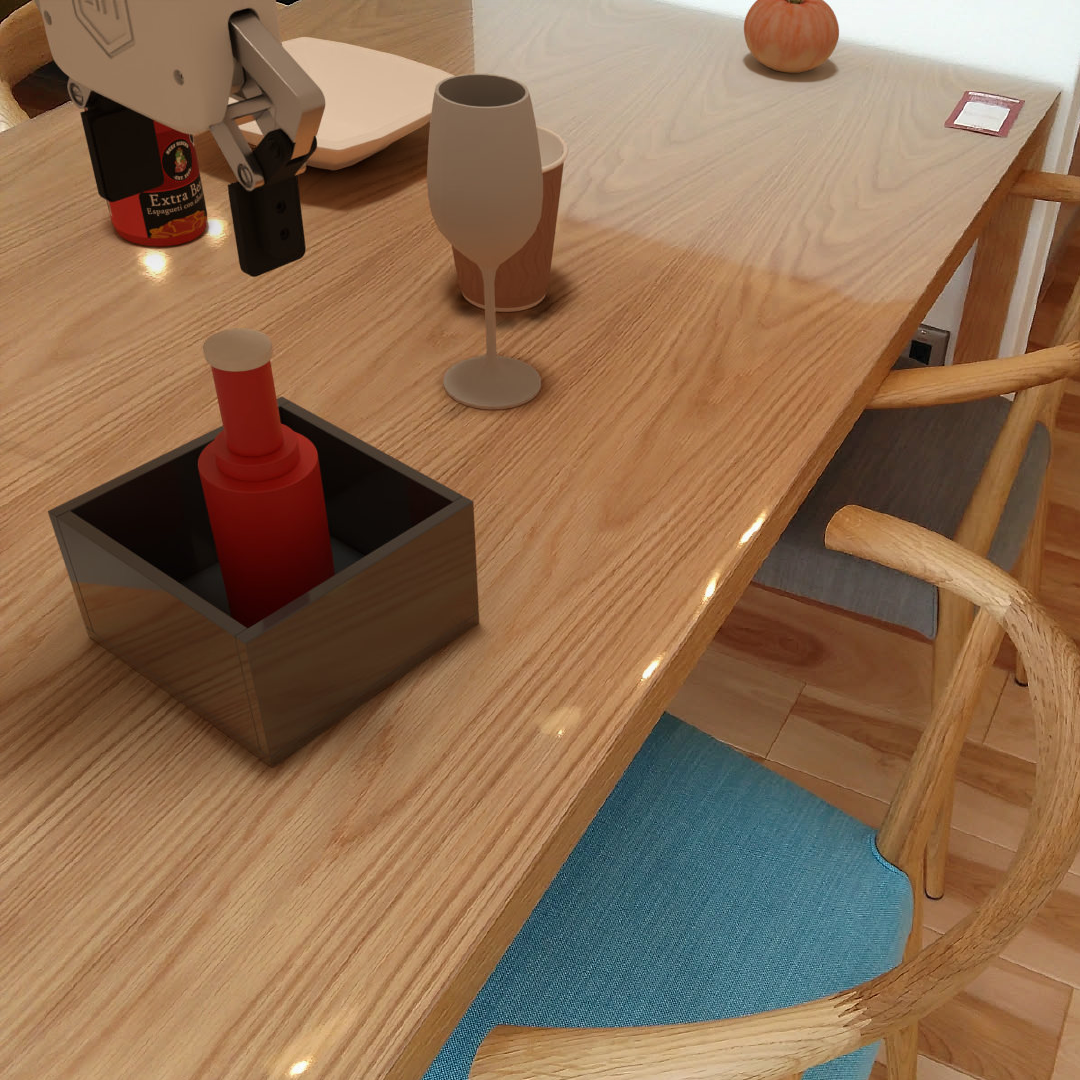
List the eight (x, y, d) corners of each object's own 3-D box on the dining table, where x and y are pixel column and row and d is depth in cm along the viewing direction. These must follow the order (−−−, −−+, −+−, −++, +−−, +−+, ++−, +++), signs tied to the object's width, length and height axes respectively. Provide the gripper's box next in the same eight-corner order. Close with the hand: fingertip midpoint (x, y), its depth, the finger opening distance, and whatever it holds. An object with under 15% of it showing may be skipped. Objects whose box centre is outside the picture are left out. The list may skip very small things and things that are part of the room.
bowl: (494, 140, 129) (492, 80, 125) (345, 224, 114) (338, 158, 110) (312, 87, 136) (304, 28, 132) (147, 159, 120) (134, 95, 116)
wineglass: (565, 384, 98) (567, 93, 83) (491, 423, 93) (480, 123, 79) (493, 346, 101) (483, 60, 86) (419, 382, 96) (395, 86, 82)
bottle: (211, 620, 75) (145, 344, 63) (292, 572, 79) (245, 301, 66) (281, 668, 73) (227, 390, 60) (362, 615, 76) (327, 343, 64)
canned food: (160, 257, 107) (130, 120, 99) (92, 229, 110) (58, 93, 102) (230, 226, 112) (206, 93, 104) (163, 199, 114) (135, 68, 107)
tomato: (741, 46, 155) (748, -28, 149) (831, 55, 155) (842, -18, 149) (739, 79, 147) (747, 2, 141) (835, 88, 147) (846, 12, 142)
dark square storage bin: (88, 636, 74) (46, 510, 68) (301, 515, 84) (281, 395, 78) (272, 768, 68) (245, 643, 62) (479, 622, 78) (473, 501, 72)
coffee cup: (587, 281, 110) (590, 137, 101) (531, 335, 102) (529, 184, 94) (478, 252, 112) (473, 108, 104) (416, 302, 105) (404, 153, 96)
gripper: (-112, -263, 48) (11, 189, 60) (193, -156, 42) (264, 326, 54) (68, -276, 53) (149, 146, 65) (367, -182, 47) (397, 268, 59)
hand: (201, 227), depth 59 cm, fingers open, 9 cm apart
